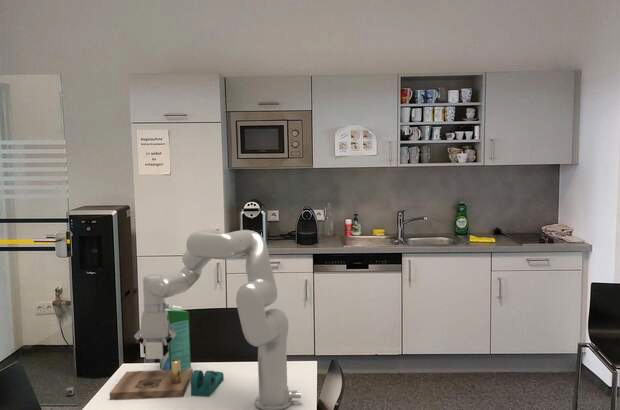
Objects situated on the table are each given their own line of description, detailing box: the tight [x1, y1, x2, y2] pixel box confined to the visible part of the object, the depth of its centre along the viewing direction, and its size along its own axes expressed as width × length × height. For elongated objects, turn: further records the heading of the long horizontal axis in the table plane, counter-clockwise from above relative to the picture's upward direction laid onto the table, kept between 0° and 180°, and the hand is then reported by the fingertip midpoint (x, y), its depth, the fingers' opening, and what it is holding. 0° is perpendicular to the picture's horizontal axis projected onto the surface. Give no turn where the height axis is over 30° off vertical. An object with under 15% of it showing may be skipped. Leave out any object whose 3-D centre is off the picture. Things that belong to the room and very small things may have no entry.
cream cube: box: [145, 338, 164, 360], centre depth 204 cm, size 6×6×6 cm
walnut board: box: [109, 368, 194, 401], centre depth 198 cm, size 25×20×2 cm
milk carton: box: [158, 305, 192, 370], centre depth 217 cm, size 9×9×25 cm
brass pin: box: [172, 359, 181, 384], centre depth 195 cm, size 3×3×8 cm
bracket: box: [190, 369, 225, 398], centre depth 198 cm, size 18×7×8 cm, turn 170°
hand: (156, 354), depth 204 cm, fingers closed on cream cube, 6 cm apart
